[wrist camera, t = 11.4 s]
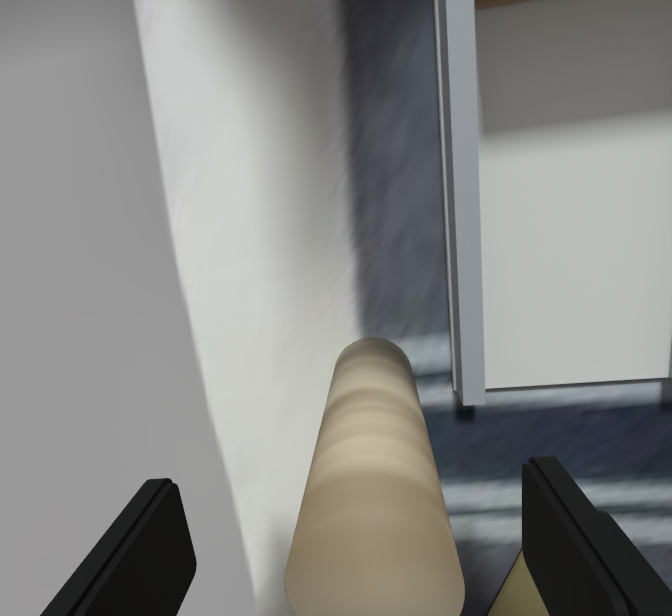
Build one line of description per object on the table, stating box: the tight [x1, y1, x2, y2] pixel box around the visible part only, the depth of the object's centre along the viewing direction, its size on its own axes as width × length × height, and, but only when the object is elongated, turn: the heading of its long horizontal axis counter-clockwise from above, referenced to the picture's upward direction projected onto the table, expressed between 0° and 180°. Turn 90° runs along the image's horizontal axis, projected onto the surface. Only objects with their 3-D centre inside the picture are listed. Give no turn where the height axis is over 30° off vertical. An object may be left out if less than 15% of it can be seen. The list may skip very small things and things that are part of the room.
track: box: [434, 0, 672, 406], centre depth 12 cm, size 28×11×9 cm, turn 7°
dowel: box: [285, 338, 465, 616], centre depth 15 cm, size 4×4×12 cm
